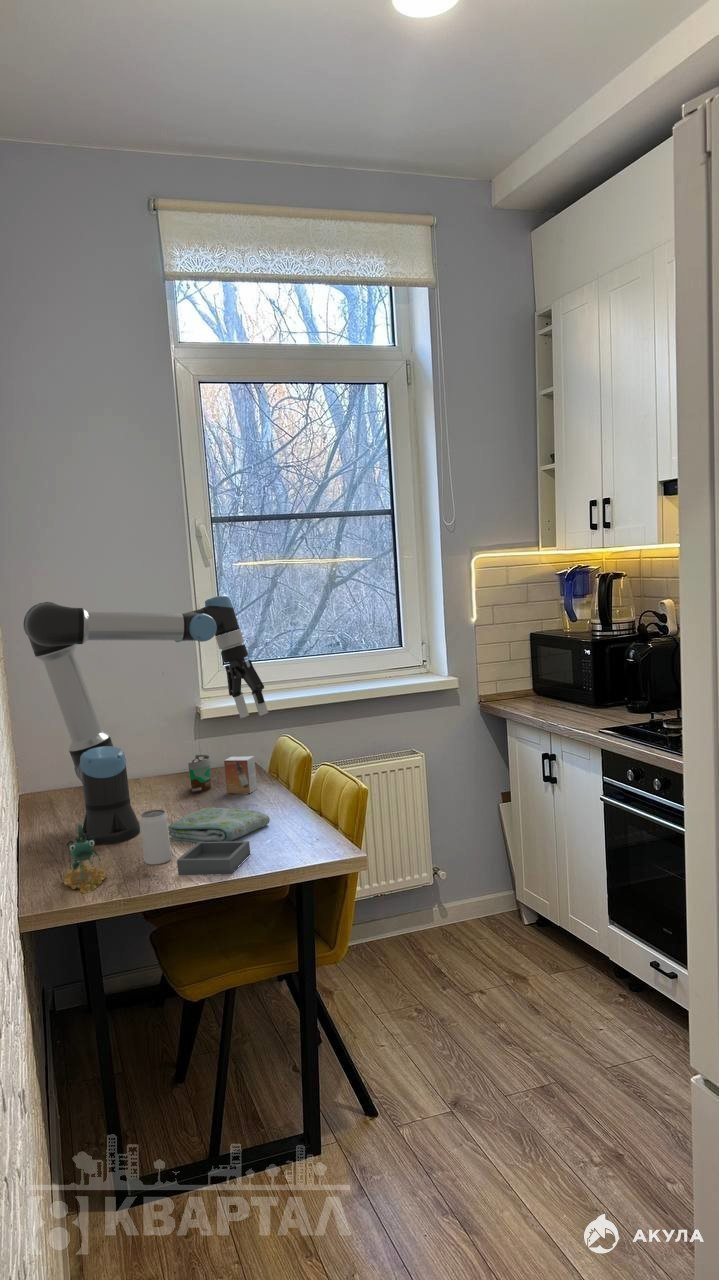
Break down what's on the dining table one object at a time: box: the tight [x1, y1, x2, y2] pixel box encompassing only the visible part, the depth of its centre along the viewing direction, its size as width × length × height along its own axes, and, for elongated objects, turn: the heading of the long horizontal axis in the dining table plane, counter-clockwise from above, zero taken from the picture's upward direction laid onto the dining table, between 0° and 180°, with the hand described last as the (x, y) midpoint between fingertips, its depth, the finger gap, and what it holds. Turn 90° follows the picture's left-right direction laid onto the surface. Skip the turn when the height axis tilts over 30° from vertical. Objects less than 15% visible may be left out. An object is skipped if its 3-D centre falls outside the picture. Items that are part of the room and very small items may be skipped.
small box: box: [223, 755, 258, 794], centre depth 285 cm, size 8×6×10 cm
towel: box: [168, 807, 271, 843], centre depth 245 cm, size 18×21×5 cm
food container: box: [187, 754, 213, 794], centre depth 292 cm, size 12×6×10 cm, turn 179°
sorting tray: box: [176, 840, 251, 876], centre depth 218 cm, size 13×13×4 cm
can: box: [139, 809, 172, 866], centre depth 225 cm, size 6×6×12 cm
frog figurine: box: [63, 823, 108, 894], centre depth 214 cm, size 10×18×15 cm, turn 18°
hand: (254, 715), depth 273 cm, fingers open, 13 cm apart
